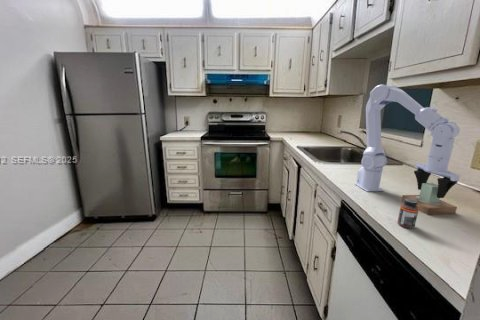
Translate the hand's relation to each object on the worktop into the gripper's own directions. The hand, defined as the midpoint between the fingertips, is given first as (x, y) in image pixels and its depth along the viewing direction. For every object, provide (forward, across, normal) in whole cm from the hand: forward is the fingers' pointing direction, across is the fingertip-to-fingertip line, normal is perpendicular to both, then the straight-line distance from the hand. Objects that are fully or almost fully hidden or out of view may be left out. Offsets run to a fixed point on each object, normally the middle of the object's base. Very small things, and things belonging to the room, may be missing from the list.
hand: (430, 193), depth 83 cm
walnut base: (+5, 0, 0) cm, 5 cm away
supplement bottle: (+6, +12, -19) cm, 23 cm away
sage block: (+3, 0, 0) cm, 3 cm away
